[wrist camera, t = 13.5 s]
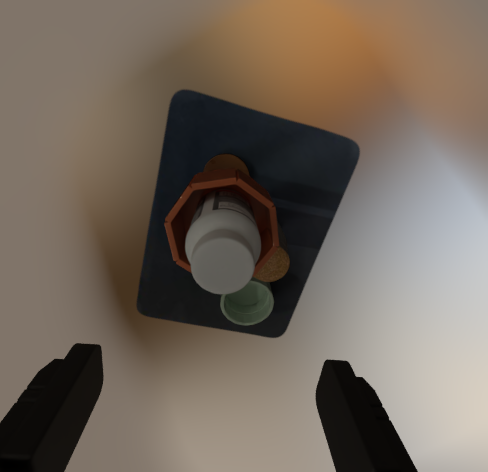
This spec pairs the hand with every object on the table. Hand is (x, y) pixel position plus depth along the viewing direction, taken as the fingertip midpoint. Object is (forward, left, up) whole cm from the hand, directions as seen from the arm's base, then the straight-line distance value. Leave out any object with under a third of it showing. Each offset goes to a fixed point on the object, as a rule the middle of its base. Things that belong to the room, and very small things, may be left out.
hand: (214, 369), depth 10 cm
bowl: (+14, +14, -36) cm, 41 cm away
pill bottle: (0, 0, -18) cm, 18 cm away
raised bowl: (0, 0, -18) cm, 18 cm away
